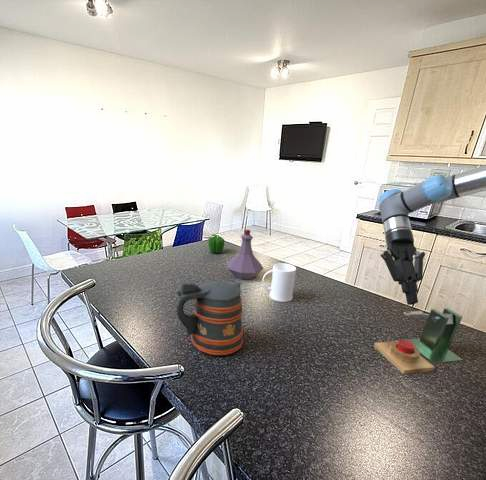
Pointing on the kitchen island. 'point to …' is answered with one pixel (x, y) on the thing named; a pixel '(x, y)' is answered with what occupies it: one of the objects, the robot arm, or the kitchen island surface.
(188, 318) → the beer stein
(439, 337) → the bracket
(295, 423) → the kitchen island surface
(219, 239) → the bell pepper
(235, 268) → the flask
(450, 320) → the lever
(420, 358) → the button block
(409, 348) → the button
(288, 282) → the mug
